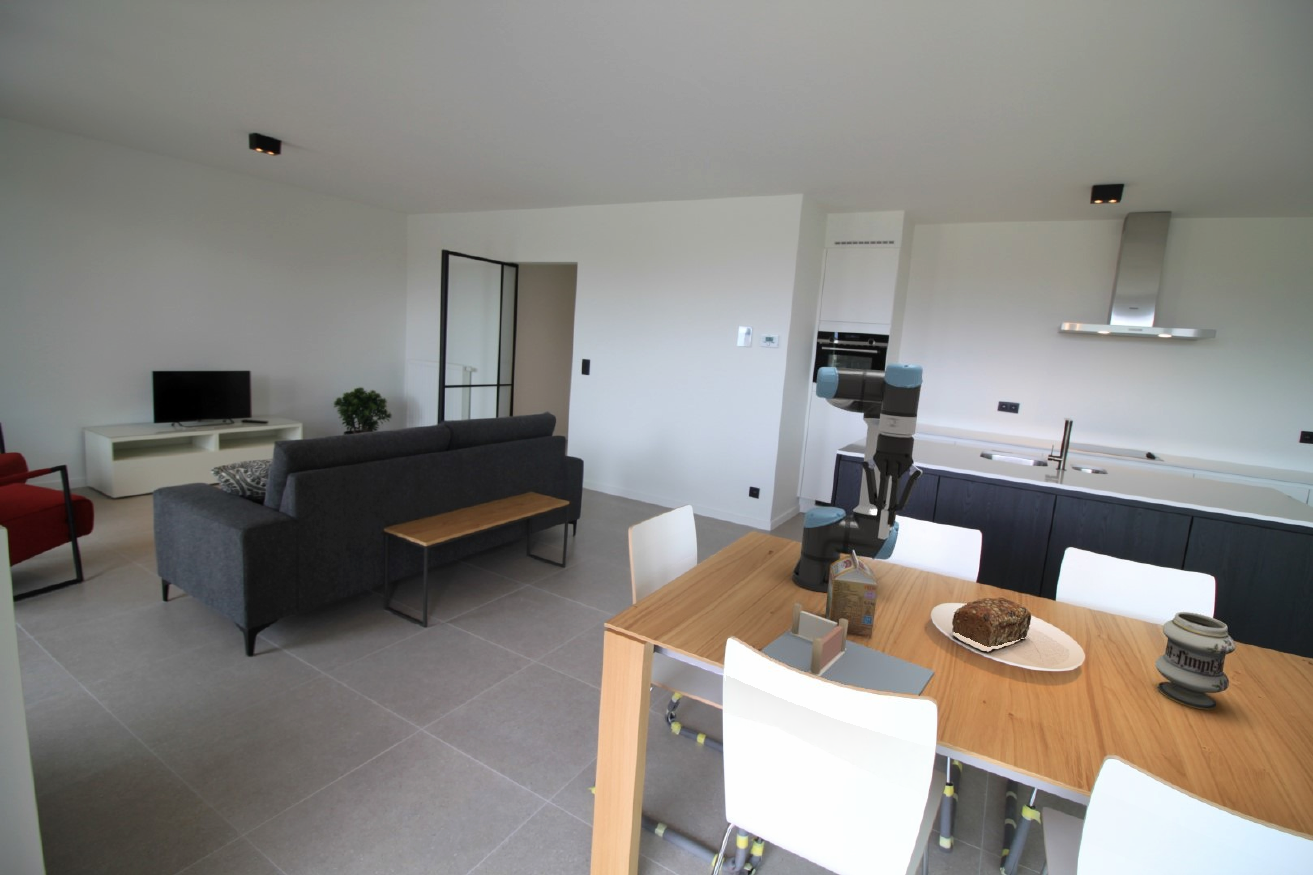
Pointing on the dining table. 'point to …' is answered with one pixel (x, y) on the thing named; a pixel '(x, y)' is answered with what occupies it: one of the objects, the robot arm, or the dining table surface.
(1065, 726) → the dining table surface
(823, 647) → the fence panel
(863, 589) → the milk carton
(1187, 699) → the apothecary jar
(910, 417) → the robot arm
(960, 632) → the bread
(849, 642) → the board
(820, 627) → the fence fixed
